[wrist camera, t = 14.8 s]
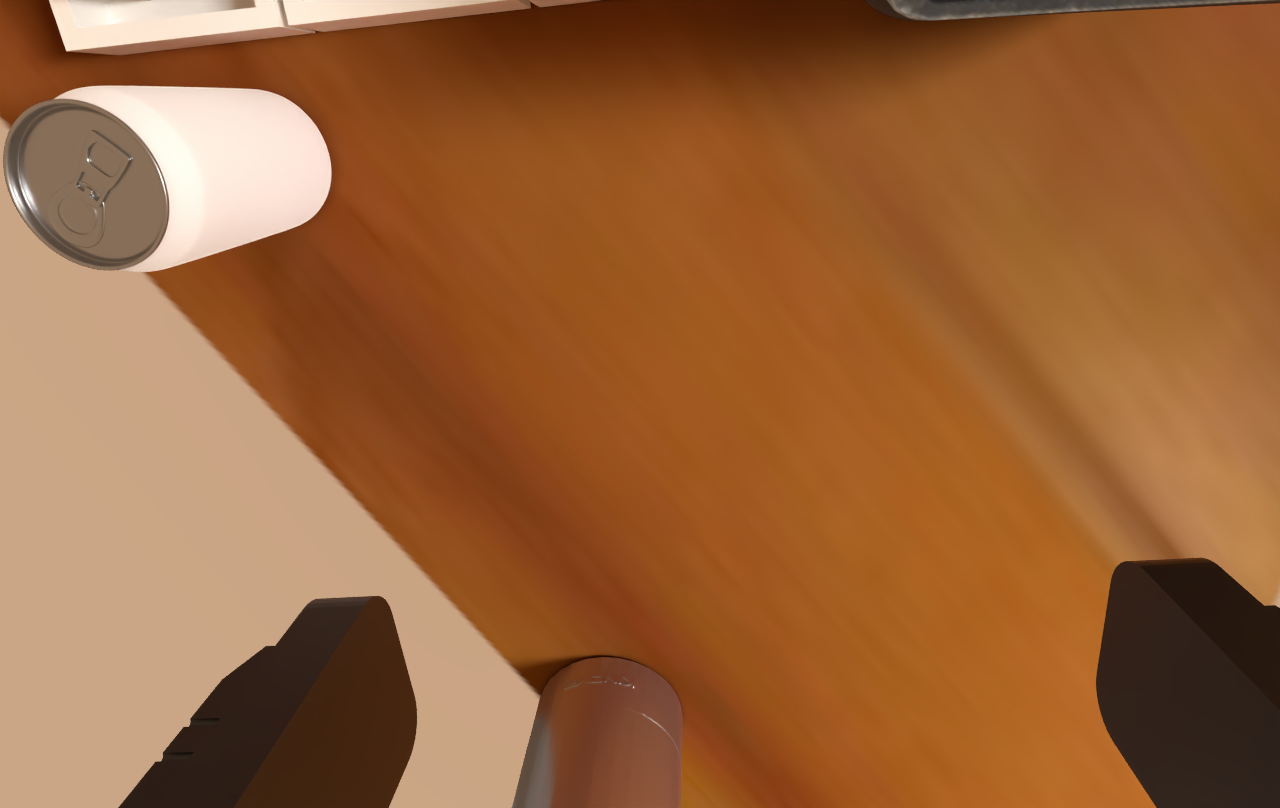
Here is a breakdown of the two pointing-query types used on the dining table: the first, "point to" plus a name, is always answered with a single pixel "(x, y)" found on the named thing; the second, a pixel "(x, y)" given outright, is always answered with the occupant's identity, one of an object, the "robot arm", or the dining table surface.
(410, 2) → the dish
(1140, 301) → the dining table surface
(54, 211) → the can
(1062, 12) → the flower pot
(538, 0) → the dish
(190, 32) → the dish
